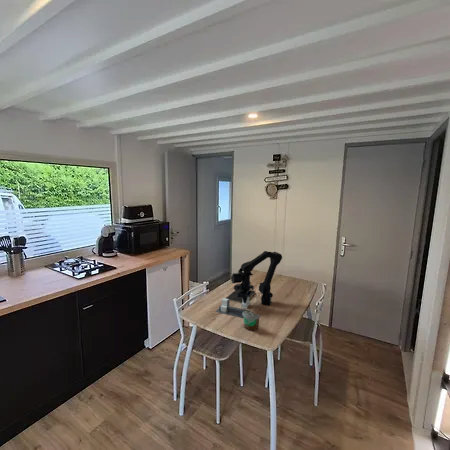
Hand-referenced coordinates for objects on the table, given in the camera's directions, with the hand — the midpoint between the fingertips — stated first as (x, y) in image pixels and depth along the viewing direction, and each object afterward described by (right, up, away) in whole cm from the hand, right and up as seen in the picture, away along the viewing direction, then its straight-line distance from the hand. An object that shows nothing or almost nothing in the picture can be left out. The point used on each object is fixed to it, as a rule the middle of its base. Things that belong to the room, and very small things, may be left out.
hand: (245, 302), depth 184 cm
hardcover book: (-3, -2, +18) cm, 18 cm away
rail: (-9, -5, -7) cm, 13 cm away
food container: (0, -8, -28) cm, 29 cm away
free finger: (0, -4, +1) cm, 4 cm away
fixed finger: (-15, -4, -5) cm, 16 cm away
